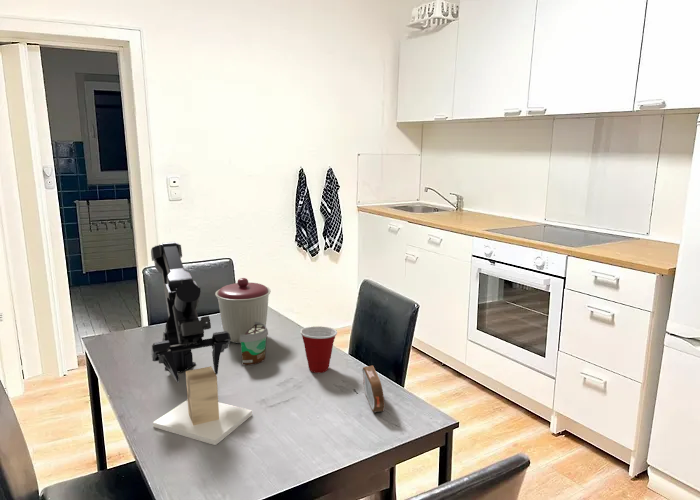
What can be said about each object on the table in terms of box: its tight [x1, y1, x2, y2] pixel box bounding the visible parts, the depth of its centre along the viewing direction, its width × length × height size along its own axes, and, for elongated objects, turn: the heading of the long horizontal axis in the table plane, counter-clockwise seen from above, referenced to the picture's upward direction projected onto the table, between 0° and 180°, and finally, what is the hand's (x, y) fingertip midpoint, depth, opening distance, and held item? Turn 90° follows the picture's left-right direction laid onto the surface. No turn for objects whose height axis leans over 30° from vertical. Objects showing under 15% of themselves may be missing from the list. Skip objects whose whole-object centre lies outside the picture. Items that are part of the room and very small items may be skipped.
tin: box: [362, 365, 385, 413], centre depth 130 cm, size 15×3×8 cm, turn 9°
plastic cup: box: [299, 325, 338, 374], centre depth 149 cm, size 11×11×12 cm
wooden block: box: [185, 366, 219, 425], centre depth 121 cm, size 6×6×11 cm
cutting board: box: [152, 399, 253, 446], centre depth 122 cm, size 18×14×1 cm
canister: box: [214, 277, 271, 344], centre depth 171 cm, size 18×18×21 cm
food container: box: [240, 322, 269, 366], centre depth 155 cm, size 12×6×10 cm, turn 168°
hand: (197, 377), depth 124 cm, fingers open, 9 cm apart
